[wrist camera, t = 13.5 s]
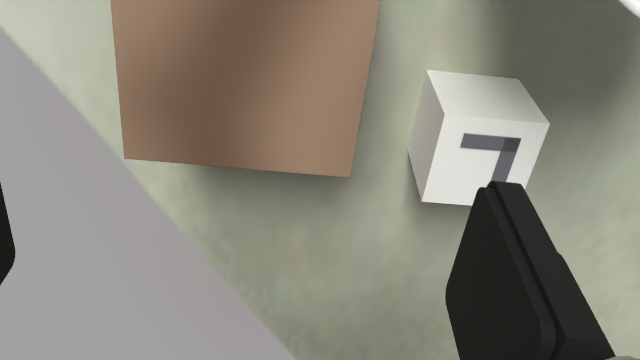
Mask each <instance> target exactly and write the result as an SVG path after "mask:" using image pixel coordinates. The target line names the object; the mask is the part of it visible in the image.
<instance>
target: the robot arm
mask: <svg viewBox="0 0 640 360" xmlns="http://www.w3.org/2000/svg"><path fill="white" fill-rule="evenodd" d="M14 259H15V247H14V242H13V238H12V233H11V228H10V224H9V219H8V215H7V210H6V206H5V201H4V197H3V192H2V189H1V184H0V285H1V283H2V282H3V280H4V279H5V277H6V276H7V274H8V272H9V271H10V269H11V268H12V266H13V263H14ZM445 298H446V306H447V310H448V314H449V318H450V322H451V326H452V330H453V334H454V338H455V342H456V346H457V350H458V353H459V357H460V360H640V359H637V358H633V357H629V356H615V354H614V352H613V350H612V348H611V346H610V344H609V343H608V341H607V339H606V337H605V335H604V333H603V331H602V329H601V327H600V326H599V324H598V322H597V320H596V318H595V316H594V314H593V312H592V311H591V309H590V307H589V305H588V303H587V301H586V299H585V297H584V296H583V294H582V292H581V290H580V288H579V286H578V284H577V282H576V280H575V279H574V277H573V275H572V273H571V271H570V269H569V267H568V265H567V264H566V262H565V260H564V258H563V257H562V256H561V254H559V253H558V252H557V250H556V249H555V247H554V245H553V243H552V241H551V239H550V237H549V235H548V233H547V231H546V230H545V228H544V226H543V224H542V222H541V220H540V218H539V216H538V214H537V212H536V210H535V209H534V207H533V205H532V203H531V201H530V199H529V197H528V195H527V193H526V191H525V190H524V188H523V186H522V185H521V184H519V183H511V182H501V181H490V182H489V183H488V185H487V187H480V188H479V189H478V190H477V193H476V196H475V199H474V202H473V205H472V208H471V211H470V214H469V218H468V221H467V224H466V227H465V230H464V233H463V236H462V239H461V243H460V246H459V249H458V252H457V255H456V258H455V261H454V265H453V268H452V271H451V274H450V277H449V280H448V283H447V287H446V296H445Z"/></svg>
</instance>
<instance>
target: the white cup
mask: <svg viewBox="0 0 640 360" xmlns="http://www.w3.org/2000/svg"><path fill="white" fill-rule="evenodd" d="M618 1H619V2H620V3H621V4H622V5H623V6H625V7H626V8H627V9H628V10H629V11H630V12H631V13H633V14H634V15H635V16H637V17H638V18H640V0H618Z"/></svg>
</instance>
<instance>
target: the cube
mask: <svg viewBox="0 0 640 360" xmlns="http://www.w3.org/2000/svg"><path fill="white" fill-rule="evenodd" d="M549 126H550V123H549V122H548V120H547V119H546V118H545V116H544V115H543V113H542V112H541V110H540V109H539V108H538V106H537V105H536V103H535V102H534V101H533V99H532V98H531V96H530V95H529V93H528V92H527V91H526V89H525V88H524V86H523V85H522V84H521V82H520V81H519V79H514V78H504V77H493V76H483V75H473V74H463V73H453V72H442V71H432V70H426V74H425V78H424V82H423V87H422V91H421V95H420V100H419V104H418V108H417V112H416V117H415V121H414V125H413V129H412V134H411V138H410V142H409V147H408V154H409V157H410V161H411V165H412V168H413V172H414V176H415V179H416V183H417V186H418V190H419V194H420V197H421V201H422V202H432V203H445V204H457V205H470V206H472V205H473V202H474V199H475V196H476V193H477V190H478V189H479V188H480V187H487V185H488V183H489V182H490V181H501V182H511V183H519V184H521V185H522V186H523V188H524V190H525V188H526V185H527V183H528V180H529V178H530V175H531V172H532V170H533V167H534V165H535V162H536V159H537V157H538V154H539V152H540V149H541V146H542V144H543V141H544V139H545V136H546V133H547V131H548V128H549Z"/></svg>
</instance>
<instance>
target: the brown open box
mask: <svg viewBox="0 0 640 360" xmlns="http://www.w3.org/2000/svg"><path fill="white" fill-rule="evenodd" d="M380 5H381V0H111V10H112V22H113V33H114V45H115V56H116V68H117V79H118V91H119V102H120V114H121V125H122V136H123V148H124V159H135V160H147V161H159V162H171V163H183V164H195V165H207V166H219V167H231V168H243V169H255V170H267V171H279V172H290V173H302V174H314V175H326V176H338V177H350V175H351V169H352V164H353V158H354V152H355V147H356V141H357V135H358V130H359V124H360V118H361V113H362V107H363V101H364V96H365V90H366V84H367V79H368V73H369V67H370V62H371V56H372V50H373V45H374V39H375V33H376V28H377V22H378V16H379V11H380Z"/></svg>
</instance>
